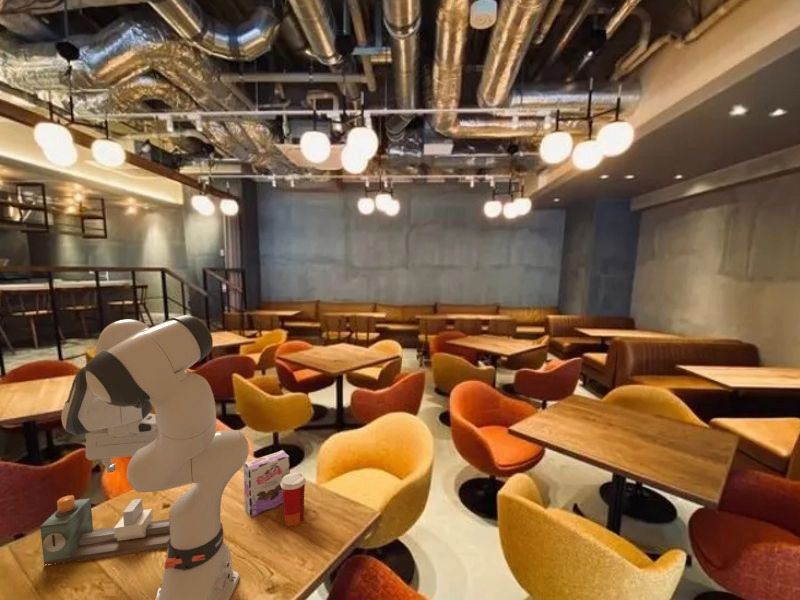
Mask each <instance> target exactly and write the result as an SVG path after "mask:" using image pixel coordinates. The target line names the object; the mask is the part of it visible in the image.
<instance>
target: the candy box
mask: <svg viewBox="0 0 800 600" xmlns="http://www.w3.org/2000/svg"><path fill="white" fill-rule="evenodd" d="M290 465H291V464H290V455H288V454H287V453H286V451H284V449H282V450H279V451H277V452H274V453H270V454H267V455H264V456H260V457H258V458H254V459H251V460H248V461H246V462H245V464H244V465H243V466H242V467H243V487H244V488H243V490H244V491H243V493H244V509H245V511H246V512H247V514H248V516H249V517H250V518H253V517H256V516H257V515H259V514H262V513H265V512H267V511H269V510H272V509H274V508H277V507H279V506H281V505H283V495H282V488H281V485H280V484H281V481H282V479H283V477H284V476H286V475H288V474H291V472H290V471H291V470H290V468H291V467H290Z"/></svg>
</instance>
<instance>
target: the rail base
mask: <svg viewBox="0 0 800 600" xmlns="http://www.w3.org/2000/svg"><path fill="white" fill-rule="evenodd" d="M74 500H75V508H74V509H72V510H71V511H69V512H66V513H58V509H57V510H56V511H55V512H54V513H52V514H51V516H50V517H48V518H47V519H46V520H45V521H44V522H43V523H42V524H40V527H39V528H40V536H41V537H40V539H41V549H42V558H43V559H42V561H43V566H44V565H45V564H47V565H48V564H55V563H56V565H59V564H58V563H62V564H64V563H63V562H69V563H71V562H70V561H75V562H79V561H78V560H82V561H86V559H88V560H93V559H94V558H95V559H100V558H107V557H108V558H109V557H113V556H114V557H115V556H119V555H126V554H132V553H139V552H146V551H151V550H152V551H153V550H157V549H166V547H167V548H168V545H169V540H170V527H169V518H167V519H166V518H165V519H160V520H153V521H152V520H151V524H150V525H148V526H147V528H146V536H145V537H141V538H134V539H128V540H121V541H117V538H115V536H114V527H115V526H111V527H101V528H95V529H94V525H93V524H94V522H93V513H92V502H91V501H92V500H91V497H90V498H83V499H82V498H81V499H74Z"/></svg>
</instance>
